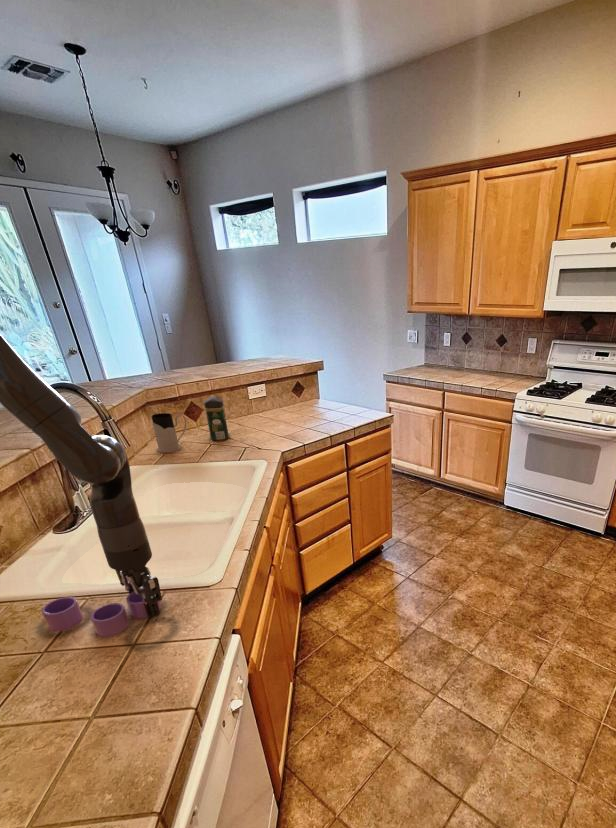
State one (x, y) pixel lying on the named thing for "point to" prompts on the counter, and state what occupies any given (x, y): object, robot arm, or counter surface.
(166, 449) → the grey mug
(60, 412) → the robot arm
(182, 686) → the counter surface
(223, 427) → the coffee jar
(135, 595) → the dish far
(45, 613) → the purple short hollow cylinder
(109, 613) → the dish middle
